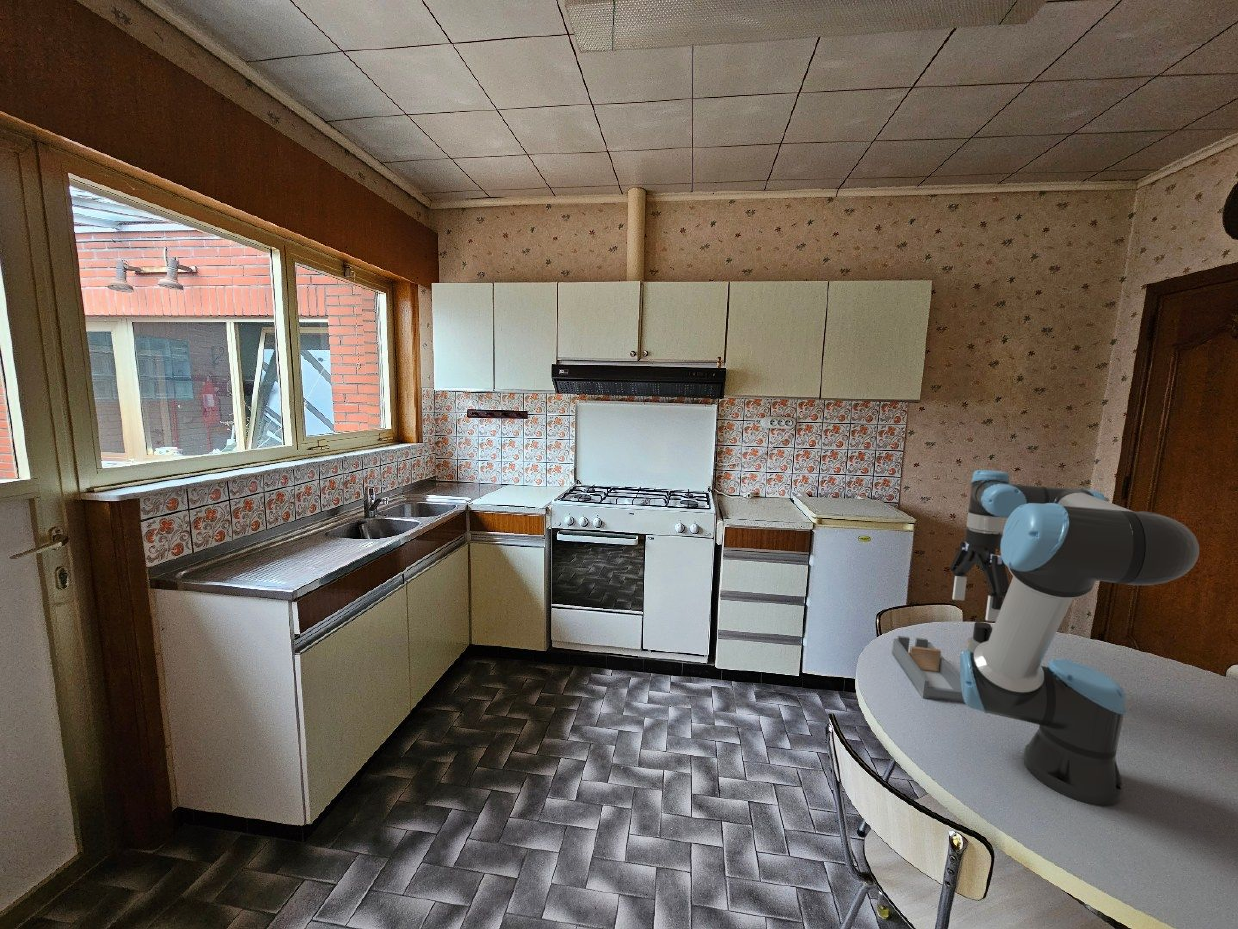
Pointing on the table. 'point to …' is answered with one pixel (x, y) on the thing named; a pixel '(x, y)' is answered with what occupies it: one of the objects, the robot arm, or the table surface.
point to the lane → (928, 673)
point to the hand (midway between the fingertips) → (974, 609)
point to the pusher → (926, 657)
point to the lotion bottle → (979, 635)
